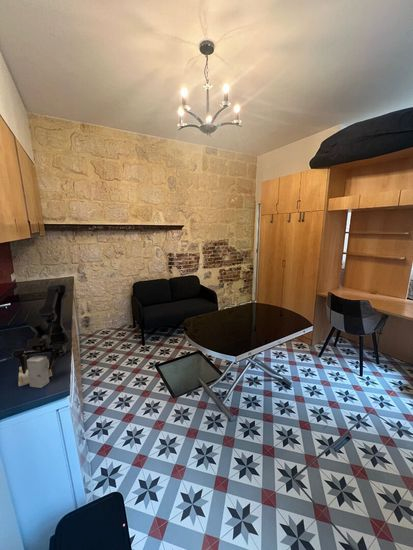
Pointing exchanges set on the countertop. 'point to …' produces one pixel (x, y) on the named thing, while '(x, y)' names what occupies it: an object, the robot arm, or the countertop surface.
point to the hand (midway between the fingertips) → (36, 371)
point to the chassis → (25, 377)
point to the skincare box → (38, 371)
